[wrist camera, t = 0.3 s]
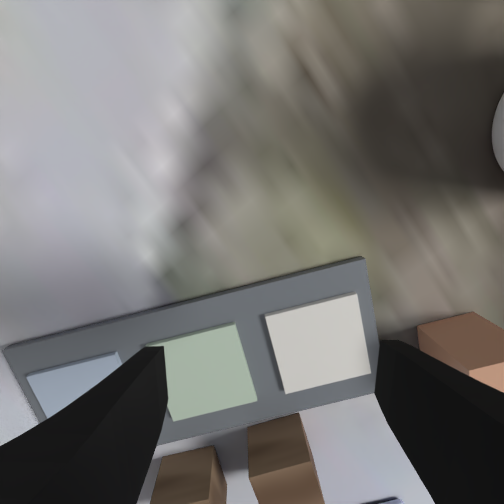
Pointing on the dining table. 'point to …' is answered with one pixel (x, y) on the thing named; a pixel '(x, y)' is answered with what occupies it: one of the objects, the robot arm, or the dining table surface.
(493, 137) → the cup
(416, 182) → the dining table surface
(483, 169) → the dining table surface
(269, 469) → the walnut cube
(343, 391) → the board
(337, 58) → the dining table surface
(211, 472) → the walnut cube
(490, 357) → the tan short square block
